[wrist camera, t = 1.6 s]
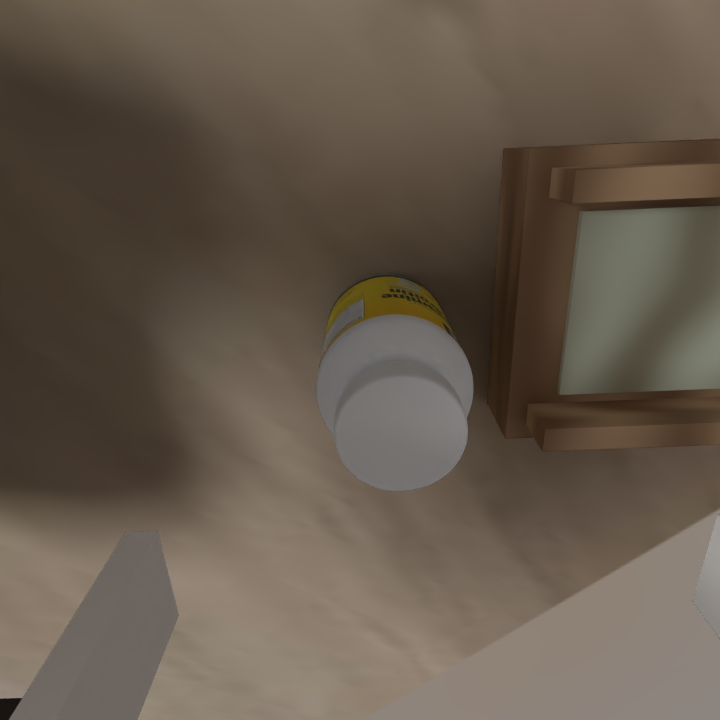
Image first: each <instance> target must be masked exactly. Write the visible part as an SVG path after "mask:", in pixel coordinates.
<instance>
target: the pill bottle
mask: <svg viewBox="0 0 720 720" xmlns="http://www.w3.org/2000/svg"><path fill="white" fill-rule="evenodd" d="M473 390H474V387H473V376H472V371H471V368H470V365H469V362H468V360H467V357H466V354H465V353H464V351H463V349H462V347H461V346H460V344H459V342H458V340H457V339H456V337H455V335H454V333H453V331H452V329H451V327H450V325H449V323H448V321H447V319H446V317H445V315H444V313H443V312H442V309H441V307H440V306H439V304H438V302H437V301H436V299H435V298H434V297H433V295H432V294H431V293H430V292H429V291H428V290H427V289H426V288H424V287H423V286H422V285H421V284H419V283H417V282H416V281H414V280H412V279H409V278H407V277H404V276H400V275H394V274H380V275H374V276H370V277H367V278H364V279H362V280H360V281H358V282H356V283H354V284H353V285H351V286H350V287H349V288H347V289H346V290H345V291H344V292H343V293H342V294H341V296H340V297H339V298H338V299H337V301H336V302H335V304H334V306H333V308H332V310H331V313H330V315H329V319H328V323H327V329H326V334H325V339H324V344H323V350H322V355H321V360H320V365H319V370H318V376H317V385H316V393H317V402H318V406H319V410H320V413H321V415H322V418H323V420H324V422H325V424H326V426H327V427H328V429H329V430H330V431H331V433H332V434H333V435H334V439H335V446H336V450H337V452H338V455H339V457H340V459H341V461H342V463H343V464H344V465H345V467H346V468H347V469H348V471H350V472H351V473H352V474H353V475H354V476H355V477H356V478H358V479H359V480H361V481H362V482H364V483H366V484H368V485H370V486H373V487H376V488H379V489H383V490H388V491H408V490H414V489H419V488H422V487H426V486H428V485H430V484H433V483H435V482H436V481H438V480H440V479H441V478H443V477H444V476H445V475H446V474H448V473H449V472H450V471H451V470H452V469H453V468H454V467H455V465H456V464H457V463H458V462H459V460H460V458H461V457H462V454H463V452H464V450H465V447H466V443H467V439H468V424H467V416H468V414H469V411H470V408H471V405H472V400H473Z"/></svg>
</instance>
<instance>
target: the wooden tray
mask: <svg viewBox="0 0 720 720" xmlns="http://www.w3.org/2000/svg"><path fill="white" fill-rule="evenodd" d="M487 404H488V406H489V408H490V410H491V412H492V414H493V415H494V417H495V419H496V421H497V423H498V425H499V427H500V429H501V431H502V433H503V435H504V437H505V439H506V438H532V437H534V438H535V440H536V442H537V443H538V445H539V446H540V448H541V450H542V451H568V450H594V449H620V448H646V447H671V446H697V445H720V139H704V140H681V141H659V142H636V143H614V144H591V145H569V146H546V147H524V148H504V150H503V165H502V181H501V196H500V211H499V226H498V242H497V257H496V272H495V287H494V302H493V318H492V333H491V348H490V363H489V379H488V394H487Z"/></svg>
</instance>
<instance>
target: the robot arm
mask: <svg viewBox="0 0 720 720" xmlns="http://www.w3.org/2000/svg"><path fill="white" fill-rule="evenodd" d="M692 602H693V603H694V605H695V606H696V607H697V609H698V610H699V611H700V613H701V614H702V616H703V617H704V618H705V620H706V621H707V622H708V624H709V625H710V626H711V628H712V629H713V631H714V632H715V633H716V634H717V636H718V637H719V639H720V514H718V515H717V518H716V521H715V525H714V528H713V531H712V535H711V538H710V542H709V545H708V548H707V552H706V555H705V559H704V562H703V566H702V569H701V572H700V576H699V579H698V583H697V586H696V589H695V593H694V596H693V600H692ZM178 616H179V614H178V610H177V606H176V602H175V598H174V594H173V590H172V586H171V582H170V578H169V574H168V570H167V566H166V562H165V558H164V554H163V550H162V546H161V542H160V538H159V534H158V531H137V532H125V534H124V535H123V537H122V539H121V540H120V542H119V543H118V545H117V547H116V548H115V550H114V551H113V553H112V555H111V556H110V558H109V560H108V561H107V563H106V564H105V566H104V568H103V569H102V571H101V572H100V574H99V576H98V577H97V579H96V580H95V582H94V584H93V585H92V587H91V589H90V590H89V592H88V593H87V595H86V597H85V598H84V600H83V601H82V603H81V605H80V606H79V608H78V609H77V611H76V613H75V614H74V616H73V617H72V619H71V621H70V622H69V624H68V626H67V627H66V629H65V630H64V632H63V634H62V635H61V637H60V638H59V640H58V642H57V643H56V645H55V646H54V648H53V650H52V651H51V653H50V654H49V656H48V658H47V659H46V661H45V663H44V664H43V666H42V667H41V669H40V671H39V672H38V674H37V675H36V677H35V679H34V680H33V682H32V683H31V685H30V687H29V688H28V690H27V692H26V693H25V695H24V696H23V698H10V699H0V720H137V719H138V717H139V714H140V712H141V709H142V707H143V704H144V702H145V699H146V696H147V694H148V691H149V689H150V686H151V684H152V681H153V679H154V676H155V674H156V671H157V669H158V666H159V664H160V661H161V659H162V656H163V654H164V651H165V648H166V646H167V643H168V641H169V638H170V636H171V633H172V631H173V628H174V626H175V623H176V621H177V618H178Z"/></svg>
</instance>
